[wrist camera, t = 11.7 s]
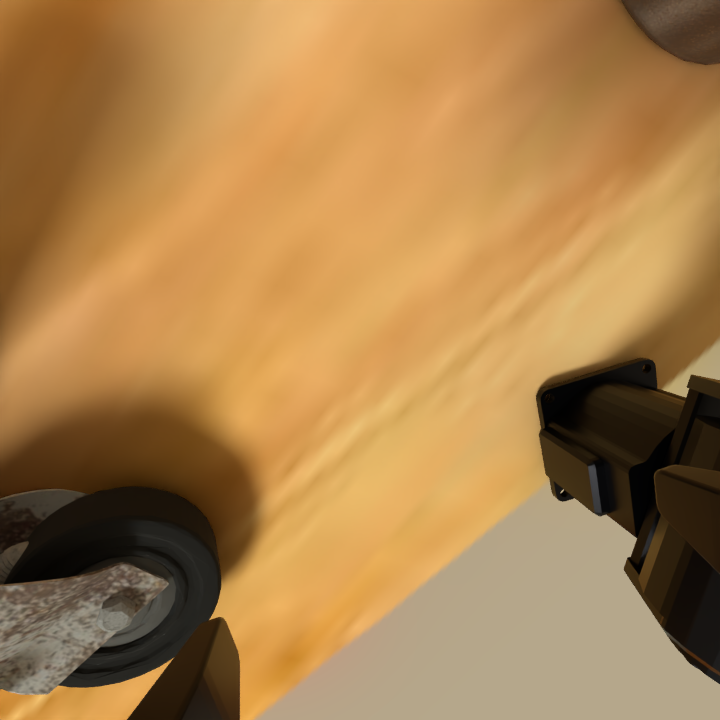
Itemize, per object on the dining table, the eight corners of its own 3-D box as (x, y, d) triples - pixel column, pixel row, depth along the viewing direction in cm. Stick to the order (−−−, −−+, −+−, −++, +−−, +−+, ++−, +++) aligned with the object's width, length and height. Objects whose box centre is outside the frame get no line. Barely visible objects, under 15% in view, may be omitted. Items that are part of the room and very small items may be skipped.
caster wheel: (243, 523, 25) (96, 657, 23) (76, 386, 19) (-126, 546, 18) (268, 616, 19) (72, 803, 17) (36, 453, 14) (-267, 699, 12)
